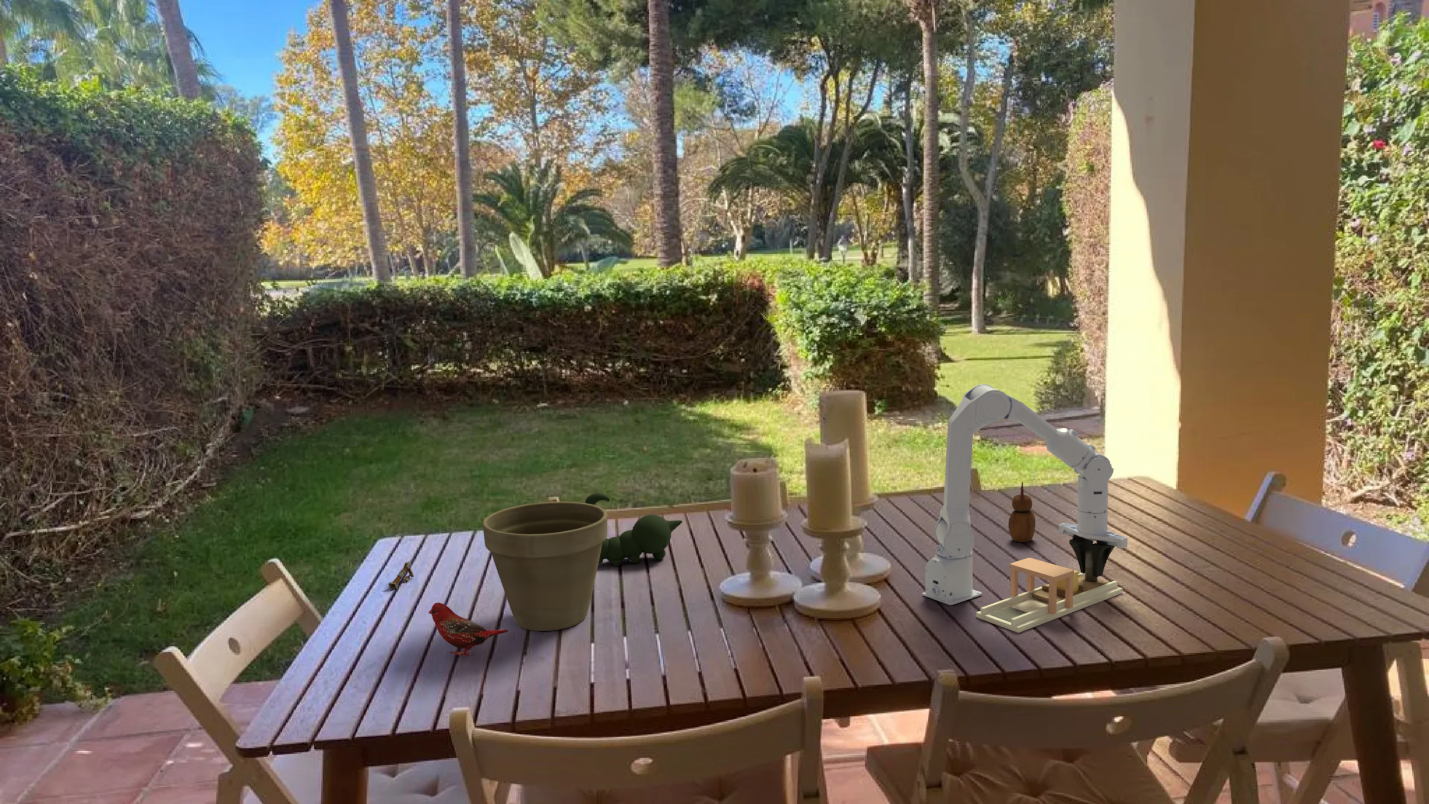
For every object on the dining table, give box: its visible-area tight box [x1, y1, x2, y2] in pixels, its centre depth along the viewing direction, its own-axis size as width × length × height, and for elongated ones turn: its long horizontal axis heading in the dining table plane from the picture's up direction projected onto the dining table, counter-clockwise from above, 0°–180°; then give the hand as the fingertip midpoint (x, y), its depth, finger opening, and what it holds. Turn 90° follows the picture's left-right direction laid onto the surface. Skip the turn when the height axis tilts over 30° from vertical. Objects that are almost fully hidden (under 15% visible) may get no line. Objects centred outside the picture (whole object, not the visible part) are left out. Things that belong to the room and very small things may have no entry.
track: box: [975, 557, 1123, 634], centre depth 184 cm, size 32×10×8 cm, turn 123°
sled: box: [1032, 550, 1109, 603], centre depth 187 cm, size 16×6×7 cm, turn 123°
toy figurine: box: [584, 492, 683, 567], centre depth 223 cm, size 9×19×25 cm
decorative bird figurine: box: [428, 601, 509, 657], centre depth 172 cm, size 3×18×10 cm, turn 69°
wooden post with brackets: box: [387, 561, 415, 590], centre depth 216 cm, size 2×8×4 cm, turn 164°
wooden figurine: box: [1007, 481, 1037, 543], centre depth 225 cm, size 7×6×15 cm
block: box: [1057, 566, 1080, 592], centre depth 186 cm, size 4×4×4 cm
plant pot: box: [482, 501, 609, 632], centre depth 188 cm, size 25×25×22 cm
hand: (1091, 574), depth 191 cm, fingers closed on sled, 2 cm apart
